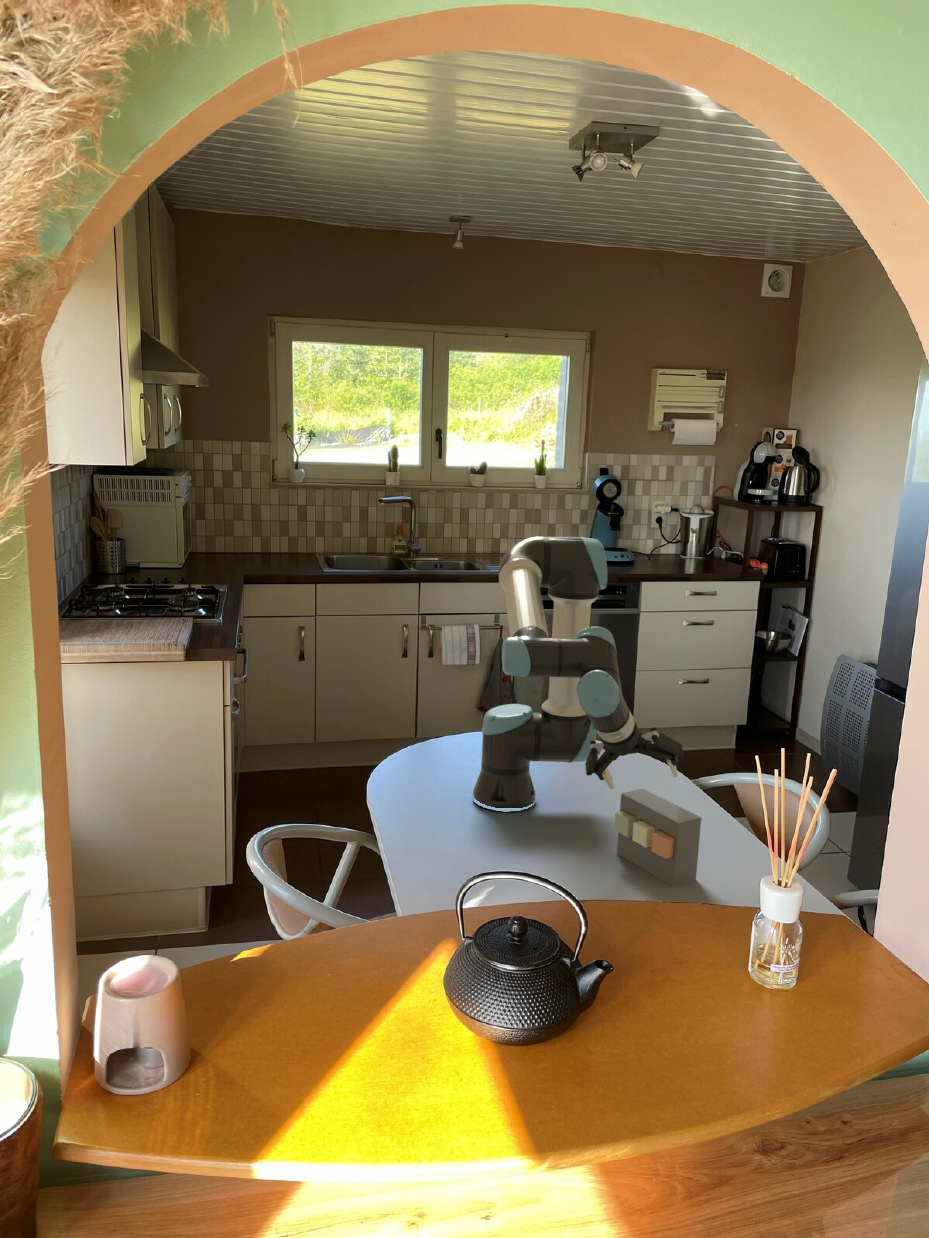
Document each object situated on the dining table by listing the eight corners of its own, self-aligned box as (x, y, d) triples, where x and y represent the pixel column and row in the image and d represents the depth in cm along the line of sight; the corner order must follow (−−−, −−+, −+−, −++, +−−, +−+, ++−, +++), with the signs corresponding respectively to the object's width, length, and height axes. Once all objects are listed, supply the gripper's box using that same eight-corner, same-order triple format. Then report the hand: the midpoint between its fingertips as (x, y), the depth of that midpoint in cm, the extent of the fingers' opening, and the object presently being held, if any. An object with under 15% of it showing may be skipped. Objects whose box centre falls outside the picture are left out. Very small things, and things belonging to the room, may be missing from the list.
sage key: (614, 829, 194) (615, 812, 194) (628, 826, 196) (630, 809, 196) (627, 837, 191) (628, 819, 190) (641, 833, 193) (643, 816, 192)
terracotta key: (651, 850, 185) (652, 832, 184) (666, 846, 187) (667, 829, 186) (665, 858, 182) (666, 840, 181) (680, 854, 184) (681, 836, 183)
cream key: (632, 840, 190) (633, 822, 189) (647, 836, 192) (648, 818, 191) (645, 847, 186) (647, 829, 186) (660, 843, 188) (661, 826, 188)
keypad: (616, 855, 197) (621, 793, 195) (638, 849, 201) (642, 788, 198) (673, 889, 183) (679, 823, 181) (695, 882, 186) (701, 817, 184)
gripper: (556, 757, 182) (587, 804, 197) (683, 730, 174) (705, 781, 190) (553, 724, 186) (584, 772, 202) (677, 697, 179) (699, 749, 194)
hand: (642, 777), depth 196 cm, fingers open, 13 cm apart
